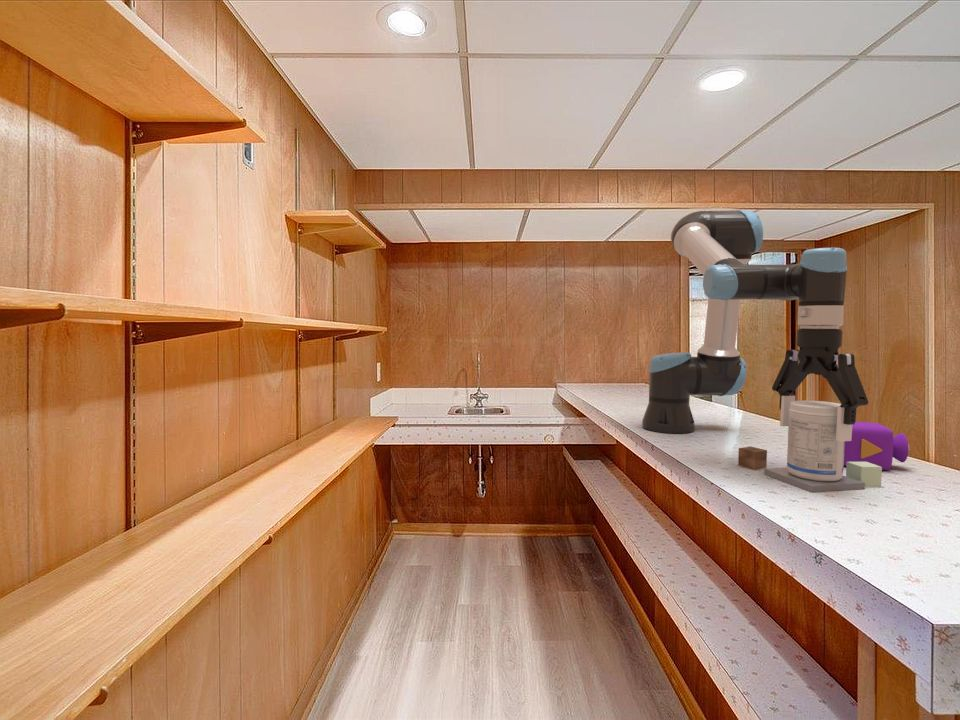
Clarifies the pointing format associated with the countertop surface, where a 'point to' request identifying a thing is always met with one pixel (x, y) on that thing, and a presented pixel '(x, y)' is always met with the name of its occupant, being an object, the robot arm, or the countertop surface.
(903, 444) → the toy camera
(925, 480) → the countertop surface
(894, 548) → the countertop surface
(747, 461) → the walnut block
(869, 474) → the pale green cube
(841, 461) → the supplement tub
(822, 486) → the slate coaster
